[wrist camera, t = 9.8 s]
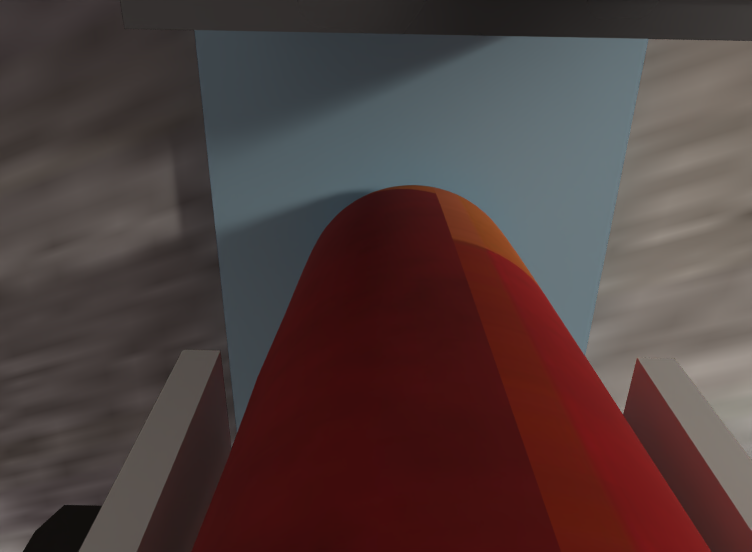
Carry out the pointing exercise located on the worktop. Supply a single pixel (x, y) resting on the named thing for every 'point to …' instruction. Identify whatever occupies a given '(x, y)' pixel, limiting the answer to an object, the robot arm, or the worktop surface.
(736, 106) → the worktop surface
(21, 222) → the worktop surface
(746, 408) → the worktop surface
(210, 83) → the base
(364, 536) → the coffee cup
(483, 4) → the block
